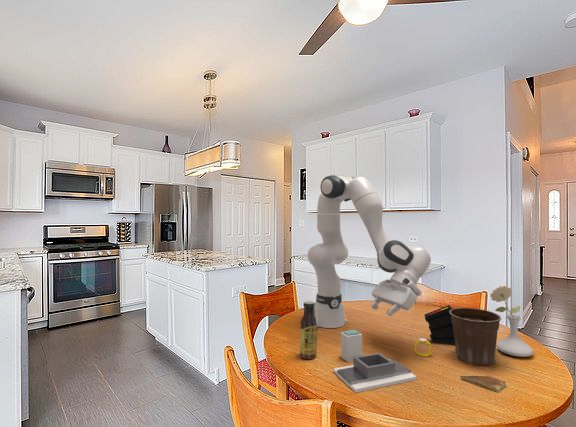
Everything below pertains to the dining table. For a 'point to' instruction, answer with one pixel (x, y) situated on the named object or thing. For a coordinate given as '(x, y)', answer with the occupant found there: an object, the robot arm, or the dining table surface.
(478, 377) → the shard
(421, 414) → the dining table surface
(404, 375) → the rail holder
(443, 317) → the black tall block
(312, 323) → the sauce bottle
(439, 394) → the dining table surface
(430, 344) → the watch
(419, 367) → the dining table surface
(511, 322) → the flower in vase
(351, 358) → the module block
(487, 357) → the plant pot
